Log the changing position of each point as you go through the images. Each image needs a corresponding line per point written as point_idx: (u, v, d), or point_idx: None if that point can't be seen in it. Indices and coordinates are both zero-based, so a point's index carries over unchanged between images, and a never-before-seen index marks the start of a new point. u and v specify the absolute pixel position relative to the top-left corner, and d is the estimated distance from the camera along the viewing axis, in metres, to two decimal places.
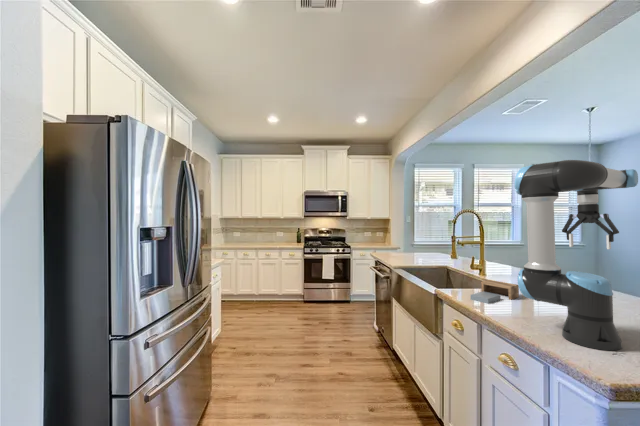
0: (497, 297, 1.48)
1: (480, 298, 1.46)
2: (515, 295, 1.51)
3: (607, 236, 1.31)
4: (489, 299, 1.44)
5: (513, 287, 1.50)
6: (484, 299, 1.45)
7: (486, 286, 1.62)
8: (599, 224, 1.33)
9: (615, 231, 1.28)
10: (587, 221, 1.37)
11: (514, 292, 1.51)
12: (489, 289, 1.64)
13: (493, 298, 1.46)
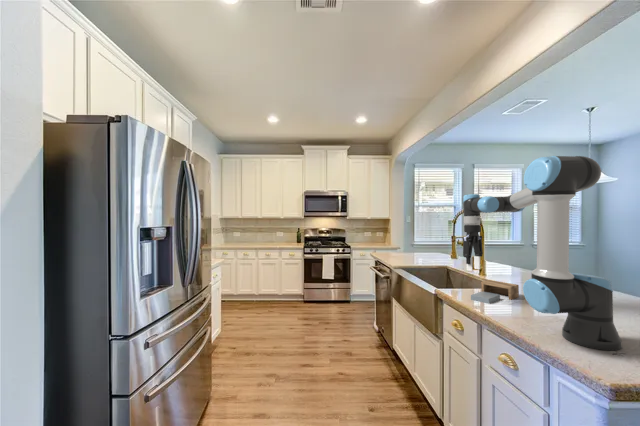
0: (497, 297, 1.48)
1: (481, 298, 1.46)
2: (515, 295, 1.51)
3: None
4: (490, 299, 1.44)
5: (513, 287, 1.50)
6: (485, 299, 1.44)
7: (486, 286, 1.62)
8: None
9: None
10: None
11: (514, 292, 1.51)
12: (489, 289, 1.64)
13: (493, 298, 1.46)
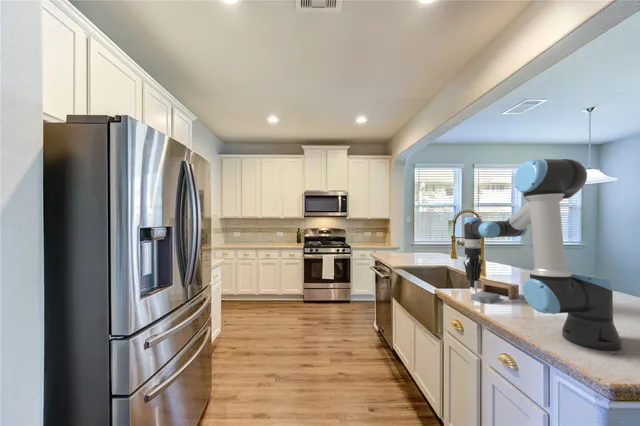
0: (497, 297, 1.48)
1: (481, 298, 1.46)
2: (515, 295, 1.51)
3: None
4: (490, 299, 1.44)
5: (513, 287, 1.50)
6: (485, 299, 1.44)
7: (486, 286, 1.62)
8: None
9: None
10: None
11: (514, 292, 1.51)
12: (489, 289, 1.64)
13: (494, 298, 1.46)
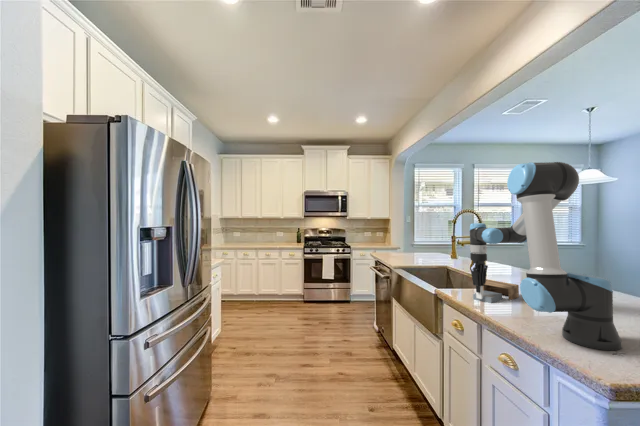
0: (499, 296, 1.49)
1: (483, 297, 1.47)
2: (515, 295, 1.51)
3: None
4: (492, 298, 1.45)
5: (513, 287, 1.50)
6: (487, 298, 1.45)
7: (486, 286, 1.62)
8: None
9: None
10: None
11: (514, 292, 1.51)
12: (489, 289, 1.64)
13: (496, 297, 1.47)
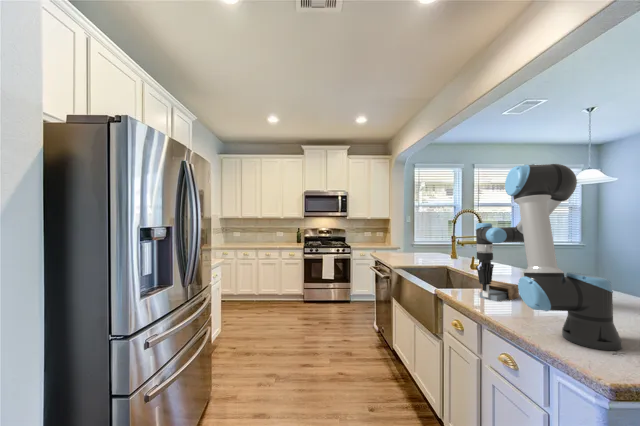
0: (506, 295, 1.51)
1: (489, 296, 1.50)
2: (515, 295, 1.51)
3: None
4: (498, 297, 1.47)
5: (513, 287, 1.50)
6: (493, 297, 1.48)
7: None
8: None
9: None
10: None
11: (514, 292, 1.51)
12: (489, 289, 1.64)
13: (502, 296, 1.49)
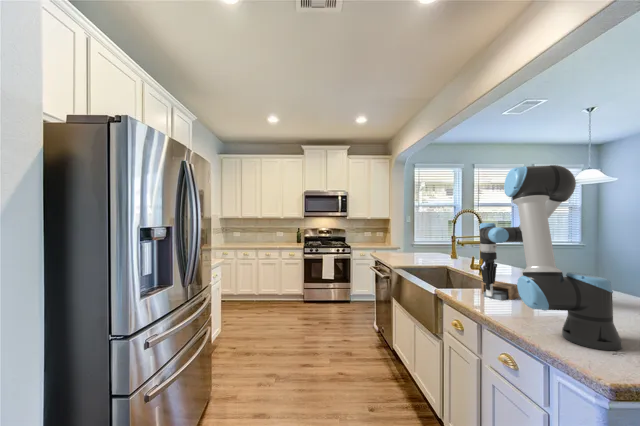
0: None
1: (493, 295, 1.51)
2: (515, 295, 1.51)
3: None
4: (502, 296, 1.49)
5: (513, 287, 1.50)
6: (497, 296, 1.49)
7: None
8: None
9: None
10: None
11: (514, 292, 1.51)
12: None
13: (506, 295, 1.51)
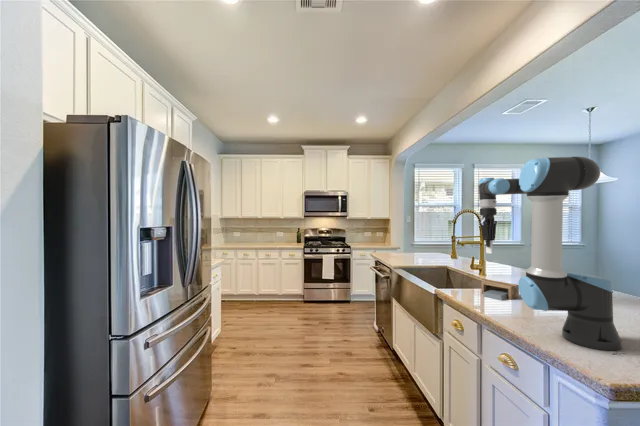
0: None
1: (493, 295, 1.51)
2: (515, 295, 1.51)
3: None
4: (502, 296, 1.49)
5: (513, 287, 1.50)
6: (497, 296, 1.49)
7: (486, 286, 1.62)
8: None
9: None
10: None
11: (514, 292, 1.51)
12: (489, 289, 1.64)
13: (506, 295, 1.51)
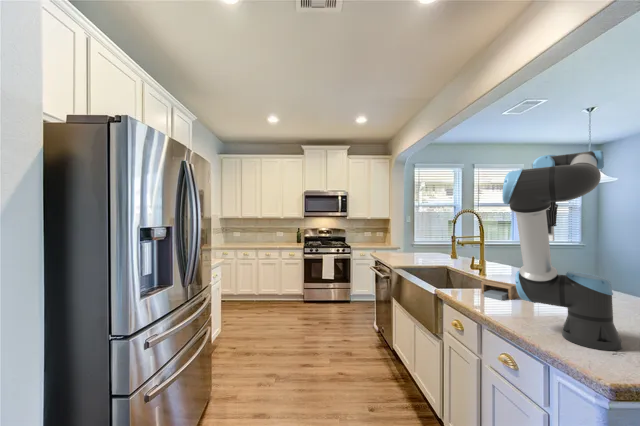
0: None
1: (494, 295, 1.51)
2: (515, 295, 1.51)
3: None
4: (503, 296, 1.49)
5: (513, 287, 1.50)
6: (498, 296, 1.49)
7: (486, 286, 1.62)
8: None
9: None
10: None
11: (514, 292, 1.51)
12: (489, 289, 1.64)
13: (506, 295, 1.51)
